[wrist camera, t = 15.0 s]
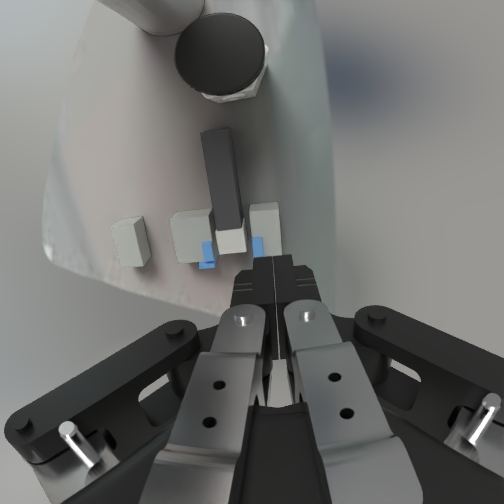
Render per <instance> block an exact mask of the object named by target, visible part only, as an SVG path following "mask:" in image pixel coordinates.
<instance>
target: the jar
mask: <svg viewBox="0 0 504 504" xmlns="http://www.w3.org/2000/svg"><path fill="white" fill-rule="evenodd" d="M268 54H269V48H268V47H267V46H266V45H265V44H264V40H263V38H262V35H261V33H260V32H259V30H258V29H257V28H256V27H255V26H254V25H253V24H252V23H251V22H250V21H248V20H247V19H245V18H243V17H241V16H239V15H235V14H231V13H213V14H209V15H206V16H203V17H201V18H199V19H197V20H195V21H194V22H192V23H191V24H190V25H188V26H187V27H186V28H185V30H184V31H183V32H182V33H181V35H180V37H179V38H178V41H177V43H176V46H175V52H174V60H175V65H176V68H177V71H178V73H179V75H180V76H181V78H182V79H183V80H184V81H185V82H186V83H187V84H188V85H190V87H192V88H194V89H195V90H197V91H199V92H201V93H202V95H203V96H204V97H205V98H207V99H209V100H212V101H215V102H217V103H224V102H229V101H234V100H239V99H245V98H250V97H255V96H256V94H257V91H258V88H259V86H260V83H261V81H262V78H263V75H264V73H265V70H266V68H267V65H268Z"/></svg>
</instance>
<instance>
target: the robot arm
mask: <svg viewBox="0 0 504 504" xmlns="http://www.w3.org/2000/svg"><path fill="white" fill-rule="evenodd" d="M97 1H99V2H101V3H102V4H104V5H106V6H107V7H109V8H110V9H112V10H114V11H115V12H117V13H118V14H120V15H122V16H123V17H125V18H126V19H128V20H129V21H131V22H132V23H134V24H135V25H137V26H138V27H140V28H142V29H143V30H145V31H146V32H148V33H150V34H153V35H157V36H169V35H174V34H177V33H180V32H182V31H184V30H185V28H186V27H187V26H188V25H190V24H191V23H192V22H194V21H195V20H197V19H198V17H199V16H200V14H201V12H202V10H203V6H204V0H97ZM273 259H274V274H275V289H276V302H275V289H274V277H273V265H272V256H266V257H254V260H253V269H252V270H241V271H240V272H239V273H238V274H237V275H236V277H235V281H234V287H233V293H232V299H231V305H230V308H229V309H228V310H226V311H225V312H224V313H223V314H222V316H221V319H220V322H219V324H218V325H216V326H213V327H211V328H207V329H203V330H199V331H197V327H196V325H195V324H193V323H192V322H190V321H187V320H174V321H170V322H167V323H165V324H163V325H161V326H159V327H158V328H156V329H154V330H153V331H151V332H149V333H148V334H146V335H145V336H143V337H141V338H139V339H138V340H136V341H135V342H133V343H131V344H130V345H128V346H126V347H125V348H123V349H121V350H120V351H118V352H116V353H115V354H113V355H111V356H110V357H108V358H107V359H105V360H103V361H101V362H100V363H98V364H96V365H94V366H93V367H91V368H90V369H88V370H86V371H84V372H83V373H81V374H79V375H78V376H76V377H74V378H73V379H71V380H69V381H67V382H66V383H64V384H62V385H61V386H59V387H57V388H56V389H54V390H52V391H50V392H49V393H47V394H45V395H44V396H42V397H40V398H38V399H37V400H35V401H33V402H32V403H30V404H28V405H26V406H25V407H23V408H21V409H20V410H18V411H16V412H15V413H13V414H12V415H11V416H10V418H9V419H8V420H7V422H6V424H5V428H4V434H5V437H6V439H7V440H8V442H9V443H10V444H11V445H12V446H13V447H14V448H15V449H16V450H17V451H18V452H19V453H20V455H21V456H22V458H23V459H24V460H25V461H26V462H27V463H28V464H29V465H30V466H31V467H32V468H33V470H34V472H35V474H36V476H37V478H38V480H39V482H40V484H41V486H42V488H43V490H44V491H45V493H46V495H47V497H48V498H49V500H50V502H51V504H504V358H501V357H500V356H497V355H495V354H492V353H490V352H488V351H486V350H484V349H481V348H479V347H477V346H475V345H472V344H470V343H468V342H465V341H463V340H461V339H458V338H456V337H454V336H452V335H450V334H447V333H445V332H443V331H440V330H438V329H436V328H434V327H431V326H429V325H427V324H424V323H422V322H420V321H417V320H415V319H413V318H410V317H408V316H406V315H404V314H401V313H399V312H397V311H394V310H392V309H390V308H387V307H384V306H378V305H374V306H367V307H364V308H361V309H360V310H358V311H357V312H356V314H355V318H344V317H338V316H335V315H332V314H330V312H329V310H328V308H327V306H326V305H325V304H323V303H322V302H321V298H320V295H319V291H318V288H317V285H316V281H315V278H314V274H313V271H312V270H311V269H310V268H308V267H307V266H306V265H301V266H293V261H292V256H291V254H289V255H277V256H273ZM276 305H277V318H278V331H279V344H280V359H286V361H287V377H288V383H289V388H290V394H291V399H292V405H288V406H285V407H281V408H274V407H269V401H270V391H271V380H272V375H271V370H272V366H273V365H272V364H273V363H272V360H278V359H279V358H278V339H277V319H276ZM392 359H393V360H395V361H397V362H399V363H401V364H403V365H405V366H407V367H409V368H410V369H412V370H414V371H416V372H417V373H418V375H419V376H420V378H421V382H419V381H417V380H415V379H413V378H411V377H410V376H408V375H406V374H404V373H402V372H400V371H398V370H396V369H395V368H393V367H391V366H390V365H391V361H392ZM164 374H167V377H168V379H169V382H168V383H166V384H165V385H163V386H162V387H161V388H159V389H158V390H156V391H155V392H153V393H152V394H150V395H149V396H148V397H146V398H145V399H143V400H142V401H140V402H139V401H138V397H139V394H140V392H141V391H142V390H143V389H144V388H146V387H147V386H148V385H150V384H151V383H153V382H154V381H156V380H157V379H159V378H160V377H161V376H163V375H164Z"/></svg>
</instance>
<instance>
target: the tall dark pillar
mask: <svg viewBox="0 0 504 504" xmlns="http://www.w3.org/2000/svg"><path fill="white" fill-rule="evenodd" d="M200 134H201V140H202V146H203V152H204V158H205V164H206V170H207V176H208V182H209V188H210V194H211V200H212V205H213V211H214V217H215V222H216V228H217V229H216V232H215V233H216V239H217V244H218V249H219V255H221V254H230V253H239V252H247V245H248V235H247V228H246V221H245V218H243V211H242V205H241V198H240V191H239V185H238V178H237V171H236V165H235V158H234V151H233V144H232V138H231V131H230V128H226V129H219V130H213V131H207V132H202V133H200Z"/></svg>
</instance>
